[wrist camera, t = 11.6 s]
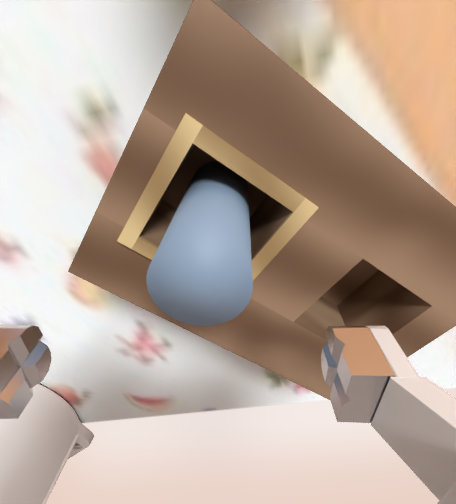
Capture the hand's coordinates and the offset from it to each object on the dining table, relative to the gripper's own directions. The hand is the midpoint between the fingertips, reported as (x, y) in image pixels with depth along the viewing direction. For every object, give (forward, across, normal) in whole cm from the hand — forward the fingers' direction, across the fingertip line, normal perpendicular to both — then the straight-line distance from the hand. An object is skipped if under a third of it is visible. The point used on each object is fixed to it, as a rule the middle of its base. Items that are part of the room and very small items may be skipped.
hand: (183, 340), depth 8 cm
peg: (+12, -1, 0) cm, 12 cm away
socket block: (+13, -5, +2) cm, 14 cm away
